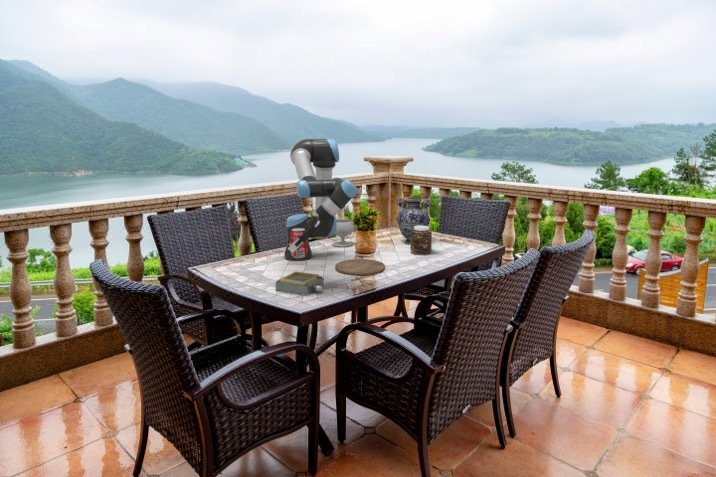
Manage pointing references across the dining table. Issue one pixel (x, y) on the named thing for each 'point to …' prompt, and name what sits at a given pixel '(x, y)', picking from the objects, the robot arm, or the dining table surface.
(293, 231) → the soda can
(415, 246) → the jar
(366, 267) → the trivet
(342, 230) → the chalice
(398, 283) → the dining table surface
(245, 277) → the dining table surface
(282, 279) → the grey framed box
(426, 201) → the decorative vase
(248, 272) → the dining table surface
